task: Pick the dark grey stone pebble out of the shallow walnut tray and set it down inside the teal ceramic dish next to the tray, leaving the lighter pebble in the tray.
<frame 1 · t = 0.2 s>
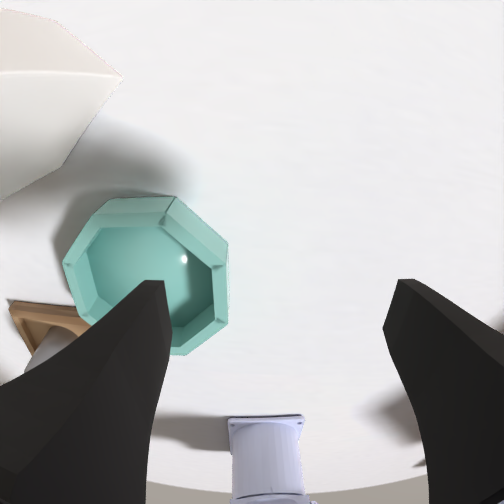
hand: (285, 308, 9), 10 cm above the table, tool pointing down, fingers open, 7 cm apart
milk carton: (57, 92, 14), on the table
tray: (79, 363, 25), on the table
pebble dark: (66, 342, 23), resting on tray
dish: (151, 271, 20), on the table
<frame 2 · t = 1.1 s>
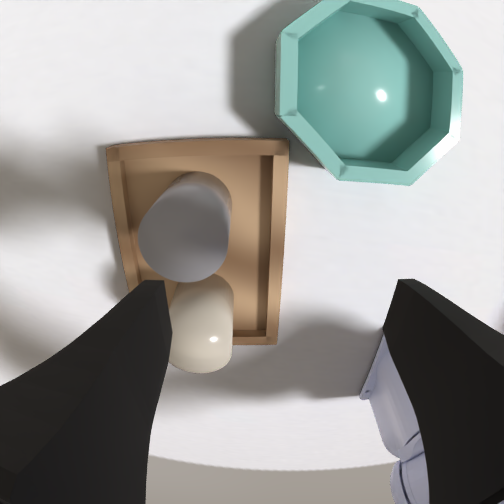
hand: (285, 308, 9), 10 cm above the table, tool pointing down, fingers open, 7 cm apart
tray: (201, 250, 19), on the table
pebble light: (204, 296, 20), point 1 cm above the table, touching tray
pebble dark: (197, 205, 18), point 1 cm above the table, touching tray
dish: (365, 86, 15), on the table
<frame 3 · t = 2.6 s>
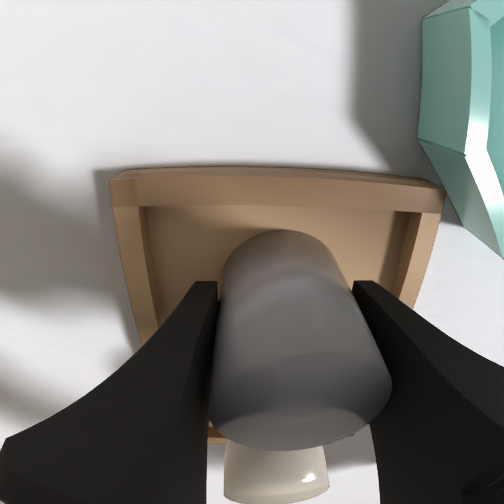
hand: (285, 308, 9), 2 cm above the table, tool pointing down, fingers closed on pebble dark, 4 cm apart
tray: (273, 342, 12), on the table
pebble light: (269, 397, 13), point 1 cm above the table, touching tray
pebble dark: (280, 284, 10), point 1 cm above the table, touching gripper, tray
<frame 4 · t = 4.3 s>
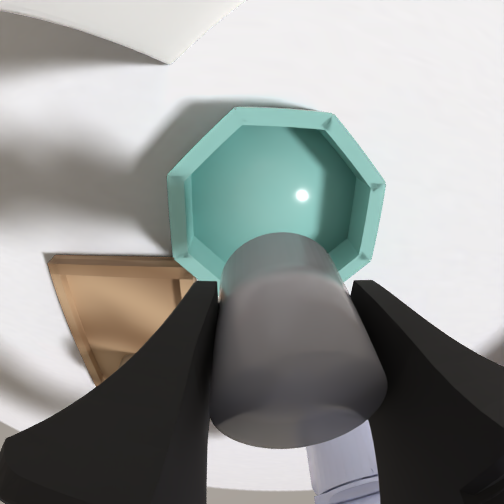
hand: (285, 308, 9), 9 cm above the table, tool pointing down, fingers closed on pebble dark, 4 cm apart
tray: (136, 338, 21), on the table
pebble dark: (279, 286, 10), point 7 cm above the table, touching gripper
dish: (273, 202, 17), on the table
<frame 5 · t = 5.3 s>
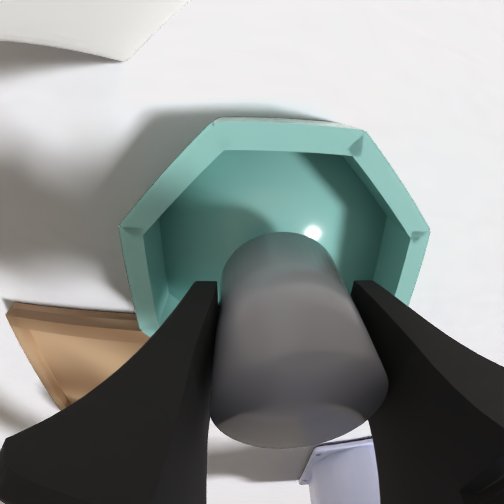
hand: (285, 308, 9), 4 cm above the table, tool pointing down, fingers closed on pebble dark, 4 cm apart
tray: (115, 392, 17), on the table
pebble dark: (279, 285, 10), point 2 cm above the table, touching gripper
dish: (274, 249, 13), on the table
when the fingers open (4 cm above the table, at t = 5.8 s): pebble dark drops 2 cm, resting on dish.
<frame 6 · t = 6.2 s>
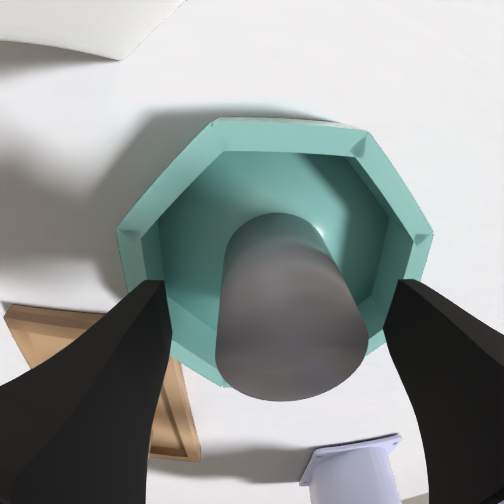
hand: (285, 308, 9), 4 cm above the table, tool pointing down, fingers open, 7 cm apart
tray: (114, 395, 17), on the table
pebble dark: (276, 261, 12), resting on dish
dish: (274, 252, 12), on the table
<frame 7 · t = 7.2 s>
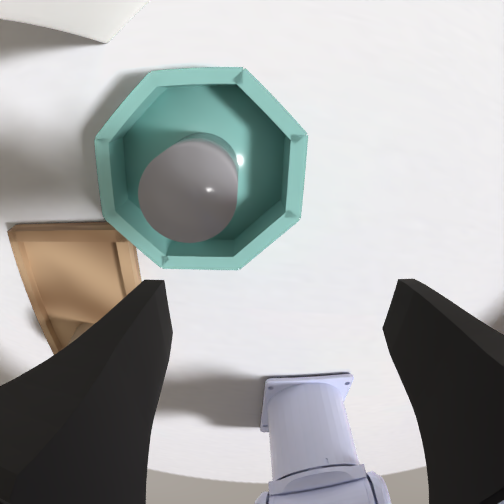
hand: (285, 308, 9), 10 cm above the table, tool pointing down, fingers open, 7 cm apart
tray: (88, 307, 21), on the table
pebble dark: (201, 168, 16), resting on dish
dish: (202, 164, 17), on the table
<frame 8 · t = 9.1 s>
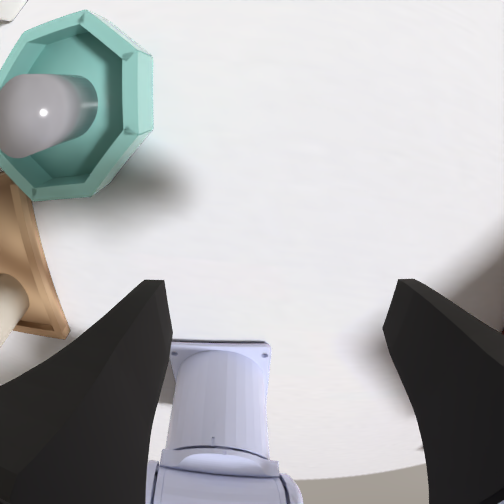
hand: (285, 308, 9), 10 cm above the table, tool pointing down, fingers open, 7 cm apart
tray: (3, 257, 19), on the table
pebble light: (12, 293, 20), point 1 cm above the table, touching tray
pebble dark: (69, 107, 14), resting on dish
dish: (73, 104, 14), on the table
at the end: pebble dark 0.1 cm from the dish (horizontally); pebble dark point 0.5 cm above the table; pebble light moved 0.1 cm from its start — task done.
